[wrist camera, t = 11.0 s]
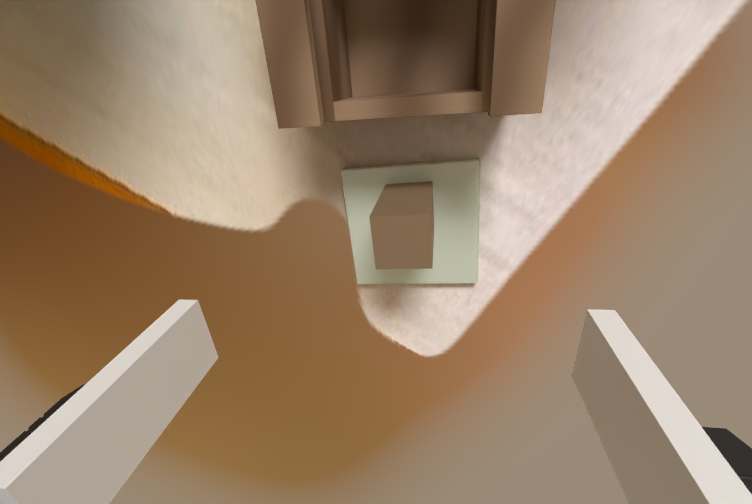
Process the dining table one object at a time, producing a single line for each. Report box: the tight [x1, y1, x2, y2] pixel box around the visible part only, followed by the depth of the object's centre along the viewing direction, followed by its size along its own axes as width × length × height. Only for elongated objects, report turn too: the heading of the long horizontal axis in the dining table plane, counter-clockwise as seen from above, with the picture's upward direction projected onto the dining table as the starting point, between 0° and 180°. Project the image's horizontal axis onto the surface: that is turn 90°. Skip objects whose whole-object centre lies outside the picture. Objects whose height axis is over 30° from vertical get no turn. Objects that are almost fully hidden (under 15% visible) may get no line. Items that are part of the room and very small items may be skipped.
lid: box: [341, 159, 480, 284], centre depth 26 cm, size 10×10×8 cm
